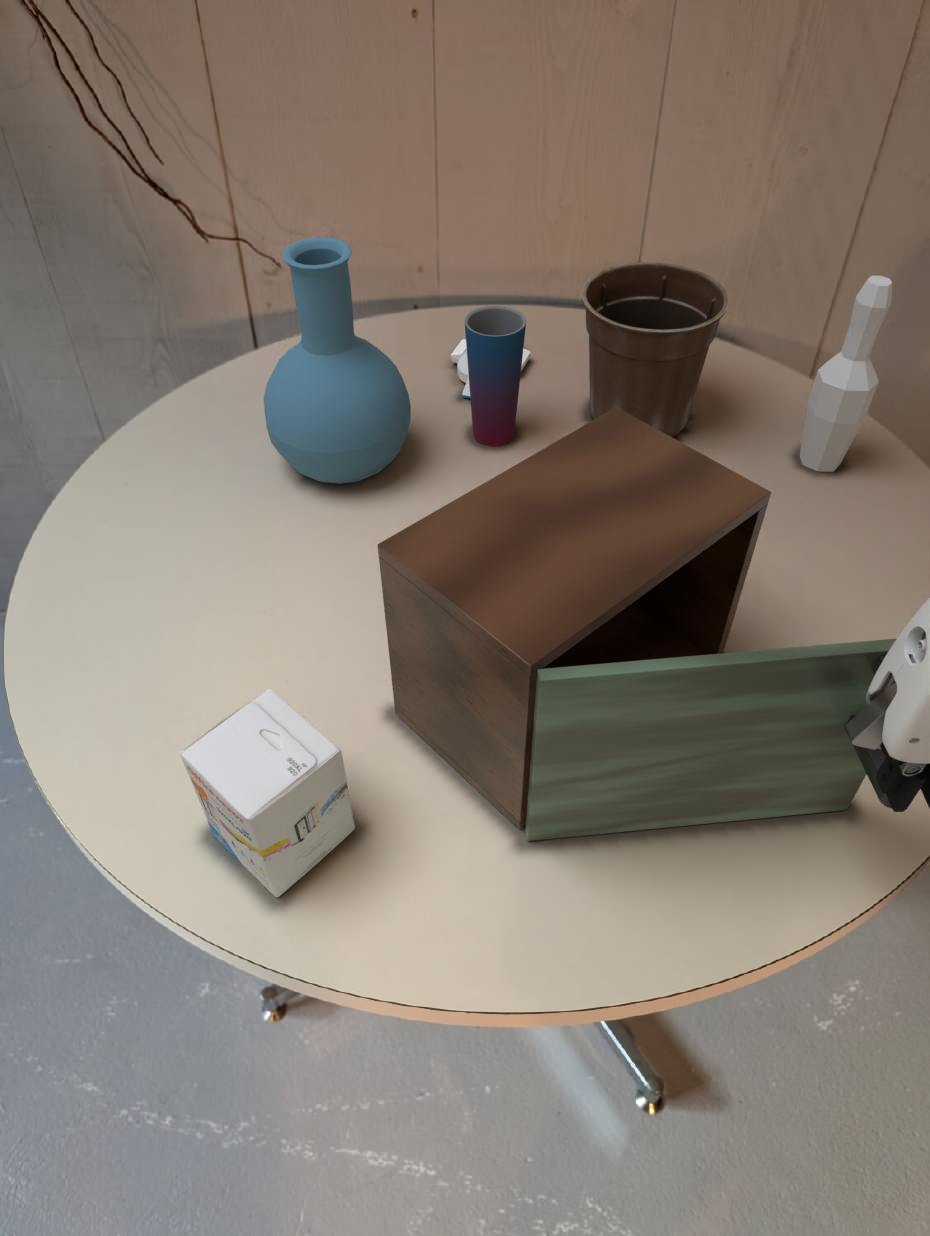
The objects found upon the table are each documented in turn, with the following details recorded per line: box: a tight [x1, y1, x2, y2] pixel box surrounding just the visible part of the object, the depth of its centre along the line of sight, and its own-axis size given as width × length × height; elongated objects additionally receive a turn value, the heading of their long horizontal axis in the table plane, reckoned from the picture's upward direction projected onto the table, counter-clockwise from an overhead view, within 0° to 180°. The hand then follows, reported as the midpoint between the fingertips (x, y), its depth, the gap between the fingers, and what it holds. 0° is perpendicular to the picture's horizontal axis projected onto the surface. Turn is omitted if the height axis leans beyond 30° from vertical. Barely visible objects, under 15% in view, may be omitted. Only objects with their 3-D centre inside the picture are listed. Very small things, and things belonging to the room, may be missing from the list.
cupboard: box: [377, 407, 772, 831], centre depth 76 cm, size 16×26×20 cm, turn 132°
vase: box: [263, 236, 412, 485], centre depth 99 cm, size 16×16×25 cm
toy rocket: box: [450, 338, 531, 399], centre depth 120 cm, size 16×10×2 cm, turn 159°
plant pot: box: [581, 261, 730, 438], centre depth 107 cm, size 16×16×16 cm
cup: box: [464, 305, 527, 447], centre depth 105 cm, size 7×7×15 cm
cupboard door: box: [525, 638, 928, 842], centre depth 64 cm, size 8×26×20 cm, turn 96°
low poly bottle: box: [799, 275, 893, 473], centre depth 99 cm, size 6×6×22 cm
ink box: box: [179, 687, 356, 898], centre depth 69 cm, size 9×8×12 cm
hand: (909, 791), depth 59 cm, fingers closed on cupboard door
